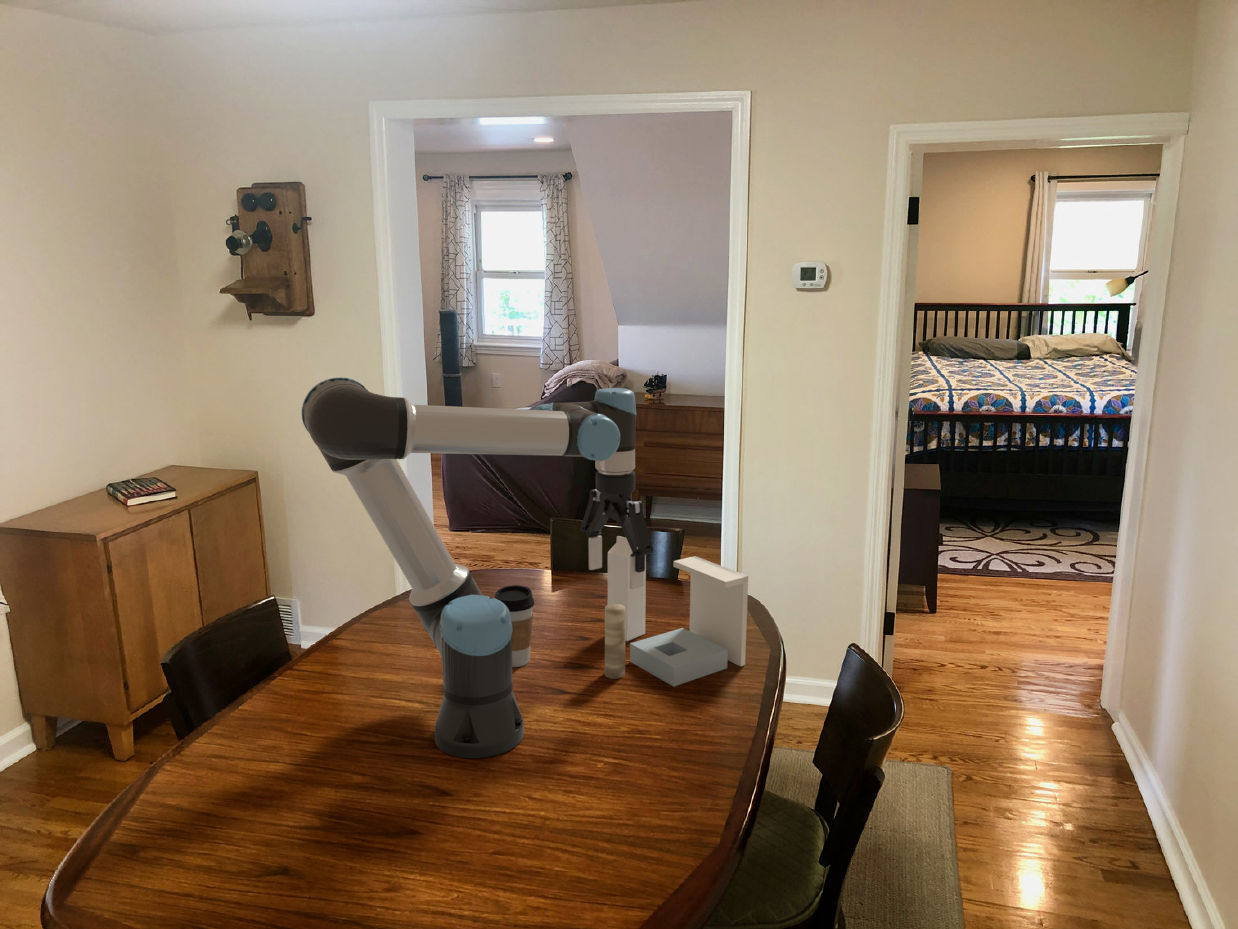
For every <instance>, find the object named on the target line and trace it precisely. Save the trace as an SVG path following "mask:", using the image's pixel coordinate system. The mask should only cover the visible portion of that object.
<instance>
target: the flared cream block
mask: <svg viewBox="0 0 1238 929" xmlns="http://www.w3.org/2000/svg"><path fill="white" fill-rule="evenodd" d="M673 568H675V569H678V570H681V571H683V572H686V573H688V574H690V587H689V588H690V589H689V590H690V592H689V594H690V595H689V601H690V602H689V631H690V632H692V633H694V634H696V635H699V636H701V637H703V638H705V639H707V640H709V641H711V642H713V643H715V644H717V645H719V646H721V647H723V648H725V649H727V650H728V660H727V661H729V662H730V663H733V664H735V665H737V666H738V667H743V666H746V652H747V651H746V650H747V645H746V644H747V624H748V623H747V620H748V618H747V617H748V595H749V594H748V590H749V589H748V588H749V576H748V575H746V574H743V573H741V572H738V571H736V570H734V569H730V568H728V567H726V566H723V565H720V564H719V563H718V564H717V563H715V562H712V561H709V560H707V559H704V558H702V557H699V556H696V555H693V556H689V557H684V558H682V559H676V560H673Z"/></svg>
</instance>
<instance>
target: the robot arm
mask: <svg viewBox="0 0 1238 929" xmlns="http://www.w3.org/2000/svg"><path fill="white" fill-rule="evenodd" d="M636 406H637V404H636V395H635V393H634V391H632V390H631V389H628V388H623V387H622V388H620V387H608V388H607V387H605V388H599V389H598V390H596V391H595V395H594V400H590V401H588V400H587V401H577V402H572V401H571V402H550V403H543V404H538V405H536V406H535V407H534V408H533V409H523V408H521V409H518V408H501V407H500V408H497V407H496V408H495V407H477V406H476V407H474V406H472V407H471V406H470V407H469V406H450V405H431V404H429V405H427V404H425V405H424V404H412V403H411V402H410V401H409V400H408V399H407V398H406V397H402V396H401V397H398V396H397V397H395V396H388V395H382V394H377V393H374V392H371V391H369V390H368V389H367V388H366V387H365V385H364V384H362V383H361V382H359V381H358V380H355V379H353V378H352V379H351V378H348V377H343V376H342V377H332V378H328V379H324V380H321V381H320V382H318V383H317V384H316V385H314V386H313V387H312V388H311V389H310V390H309V391H308V393H307V394H306V396H305V398H304V400H303V402H302V407H301V420H302V424H303V426H304V428H305V430H306V431H307V432H308V434H309V436H310V438H311V439H312V441H313V443H314V444H315V446H317V448H318V450H319V451H320V454H321V455H322V456H323V458H324V459H325V461H326V463H327V464H328V466H329V468H330V470H331V471H332V472H333V473H335V474H339V475H343V476H345V477H346V478H347V480H348V482H349V484H350V485H351V487H352V489H353V490H354V492H355V494H356V495H357V497H358V499H359V501H360V502H361V504H362V505H363V507H364V509H365V510H366V513H367V514H368V517H369V518H370V519H371V522H372V523H373V524H374V526H375V528H376V530H377V531H378V533H379V534H380V536H381V537H382V540H383V541H384V543H385V544H386V546H387V548H388V549H389V551H390V553H391V555H392V557H393V558H394V560H395V561H396V563H397V565H398V566H399V568H400V571H401V572H402V573H403V575H404V577H405V578H406V580H407V582H408V584H409V585H410V587H411V590H410V594H409V597H408V599H409V603H410V604H411V606H412V608H413V609H414V611H415V613H416V614H417V616H418V618H419V620H420V621H421V624H422V626H423V627H424V629H425V631H426V633H427V634H428V635H429V636H430V639H431V640H432V642H433V644H434V646H435V647H436V649H437V651H438V653H439V655H440V657H441V666H442V684H443V686H442V687H443V688H442V689H443V698H442V701H441V705H440V707H439V710H438V714H437V718H436V721H435V723H434V724H435V725H434V742H435V745H436V746H437V748H438V749H440V750H441V752H442V753H445V754H447V755H450V756H453V757H457V758H463V759H482V758H489V757H494V756H497V755H501V754H504V753H506V752H509V751H510V750H512V749H514V748H515V747H517V746H518V745H519V744H520V742H522V740H523V739H524V736H525V722H524V717H523V714H522V712H521V710H520V706H519V704H518V702H517V699H516V696H515V694H514V691H513V690H514V687H513V667H512V622H511V617H510V612H509V610H508V608H507V607H506V605H505V604H504V603H502V602H501V601H499V600H497V599H495V597H494V598H491V597H490V596H488V595H484V594H482V591H481V590H480V588H479V586H478V584H477V582H476V580H475V579H474V577H473V576H472V574H471V572H470V570H469V568H468V567H467V566H465V565H462V564H459V563H456V562H455V560H454V559H453V557H452V555H451V553H450V551H449V550H448V549H447V547H446V544H445V543H444V542H443V540H442V538H441V536H440V534H439V532H438V531H437V529H436V527H435V525H434V524H433V521H432V520H431V518H430V516H429V514H428V512H427V511H426V509H425V507H424V506H423V504H422V502H421V500H420V498H419V497H418V494H416V491H415V490H414V488H413V486H412V485H411V482H410V481H409V479H408V477H407V476H406V473H405V472H404V470H403V468H402V466H401V465H400V463H399V461H398V460H405V459H406V457H408V456H409V455H410V454H451V455H453V454H456V455H457V454H458V455H461V454H462V455H464V454H465V455H502V456H503V455H508V456H510V455H511V456H512V455H513V456H514V455H515V456H516V455H517V456H556V457H557V456H558V457H560V456H562V457H583V458H585V459H587V460H590V461H595V463H594V464H595V466H594V467H595V470H597V471H596V472H595V489H590V490H589V500H588V504H587V507H586V509H585V513H584V516H583V519H582V522H581V526H580V531H581V532H585V535H586V537H587V550H588V570H590V571H593V570H594V571H595V570H599V569H602V568H603V536H602V534H603V532H602V530H603V528H604V527H605V525H606V523H607V522H608V520H609V519H610V518H611V519H612V520H614V521H616V523H617V525H620V527H621V529H622V532H623V533H624V536H625V538H626V539H627V541H628V543H629V545H630V548H631V550H632V552H633V553H632V554H631V555H630V588H631V589H635V588H639V587H643V586H644V571H645V555H646V556H647V555H648V554H652V553H654V548H653V544H652V540H651V536H650V533H649V530H648V526H647V522H646V518H645V515H644V508H643V507H644V504H643V502H642V501H641V500H638V501H632V496H631V494H632V493H633V492H634V491H635V490H636V472H635V471H634V470H635V468H636V419H637V407H636ZM637 548H638V549H637Z"/></svg>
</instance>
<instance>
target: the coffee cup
mask: <svg viewBox="0 0 1238 929" xmlns="http://www.w3.org/2000/svg"><path fill="white" fill-rule="evenodd" d="M494 598H495V599H497V600H499V601H501V602H502V603H504V604H505V605H506V607H507V608H508V610H509V612H510V617H511V622H512V668H518V667H519V668H520V667H524V666H526V665H527V664H528V663H529V662H530V659H531V644H532V643H531V642H532V631H533V622H534V621H533V619H534V613H533V607H534V606H535V599H534V598H533V592H532V589H530V588H529V587H528V586H524V585H521V584H520V585H517V584H516V585H506V586H504V587H501V588H499V589H498V590H497V591H496V592H495V594H494Z"/></svg>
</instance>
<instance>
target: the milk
mask: <svg viewBox="0 0 1238 929" xmlns="http://www.w3.org/2000/svg"><path fill="white" fill-rule="evenodd" d="M637 549H638V547H637ZM632 553H633V552H632V550H631V548H630V545H629V543H628V541H627V539H626V537H624V536H620V535H617V536H616V543H614V545H613V546H612V547H611V548H610V549H609V550H608V552H607V605H610V604H620V605H623V606H625V642H629V641H631V640H634V639H636V638H638V637H641V636H643V635H645V634H646V598H647V596H646V586H647V584H646V583H647V582H646V581H647V580H646V579H647V574H646V573H647V571H646V570H647V561H646V560H647V559H646V558H647V554H646V555H645V571H644V586H643V587H639V588H635V589H631V588H630V555H631V554H632Z"/></svg>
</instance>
